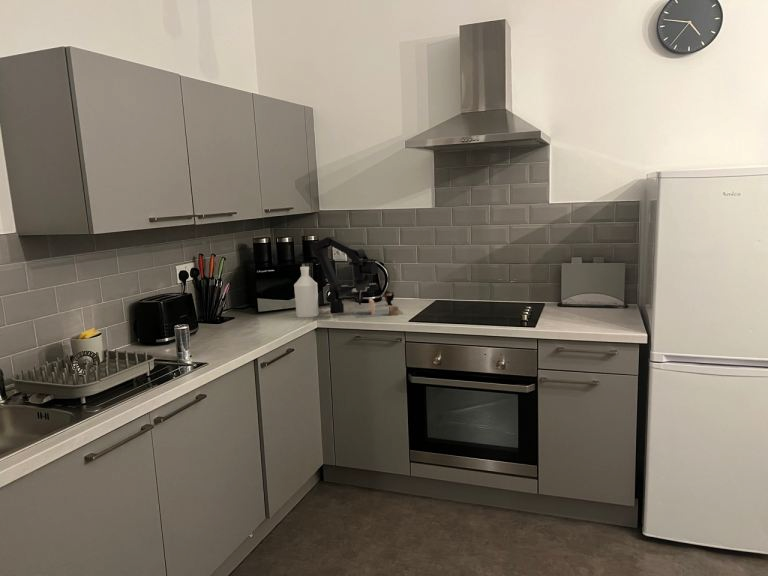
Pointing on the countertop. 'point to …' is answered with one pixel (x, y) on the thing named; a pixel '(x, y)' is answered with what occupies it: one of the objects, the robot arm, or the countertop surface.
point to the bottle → (306, 295)
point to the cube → (393, 310)
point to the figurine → (389, 297)
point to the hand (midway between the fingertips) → (359, 304)
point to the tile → (371, 306)
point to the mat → (377, 313)
